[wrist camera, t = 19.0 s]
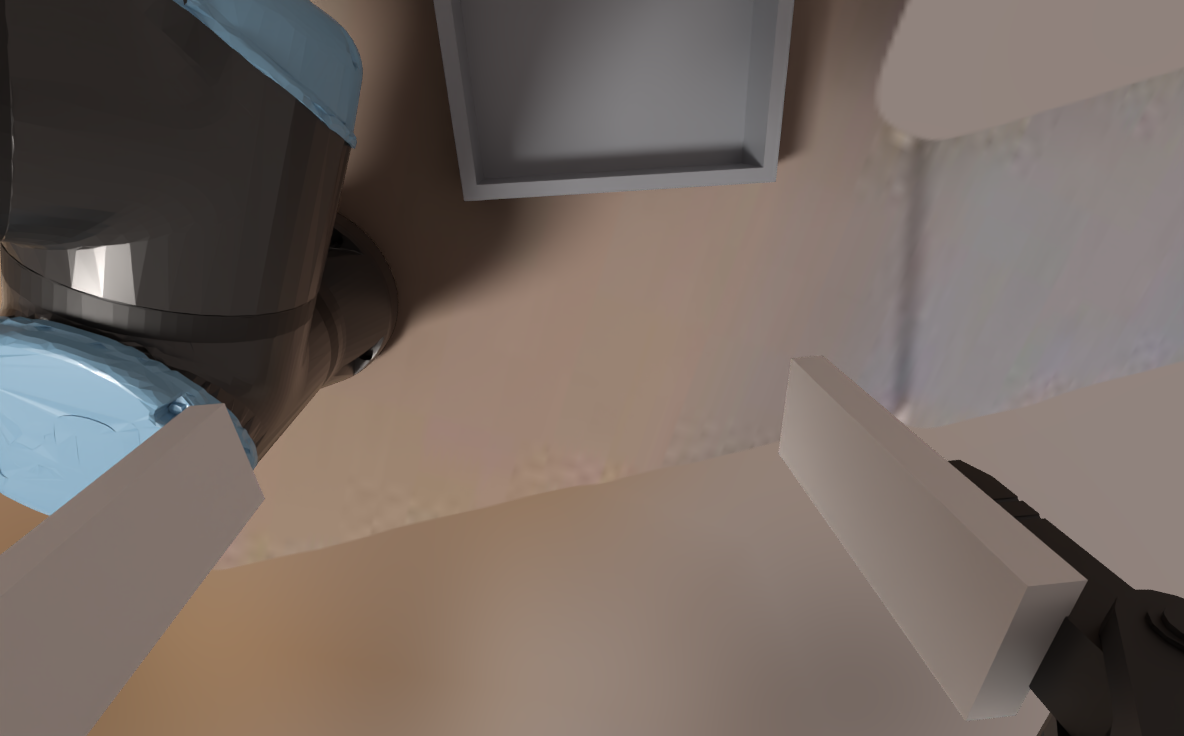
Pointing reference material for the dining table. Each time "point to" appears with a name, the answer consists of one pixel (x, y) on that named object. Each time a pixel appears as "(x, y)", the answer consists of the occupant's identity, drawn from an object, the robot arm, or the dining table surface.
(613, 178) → the grey bin
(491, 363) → the dining table surface
